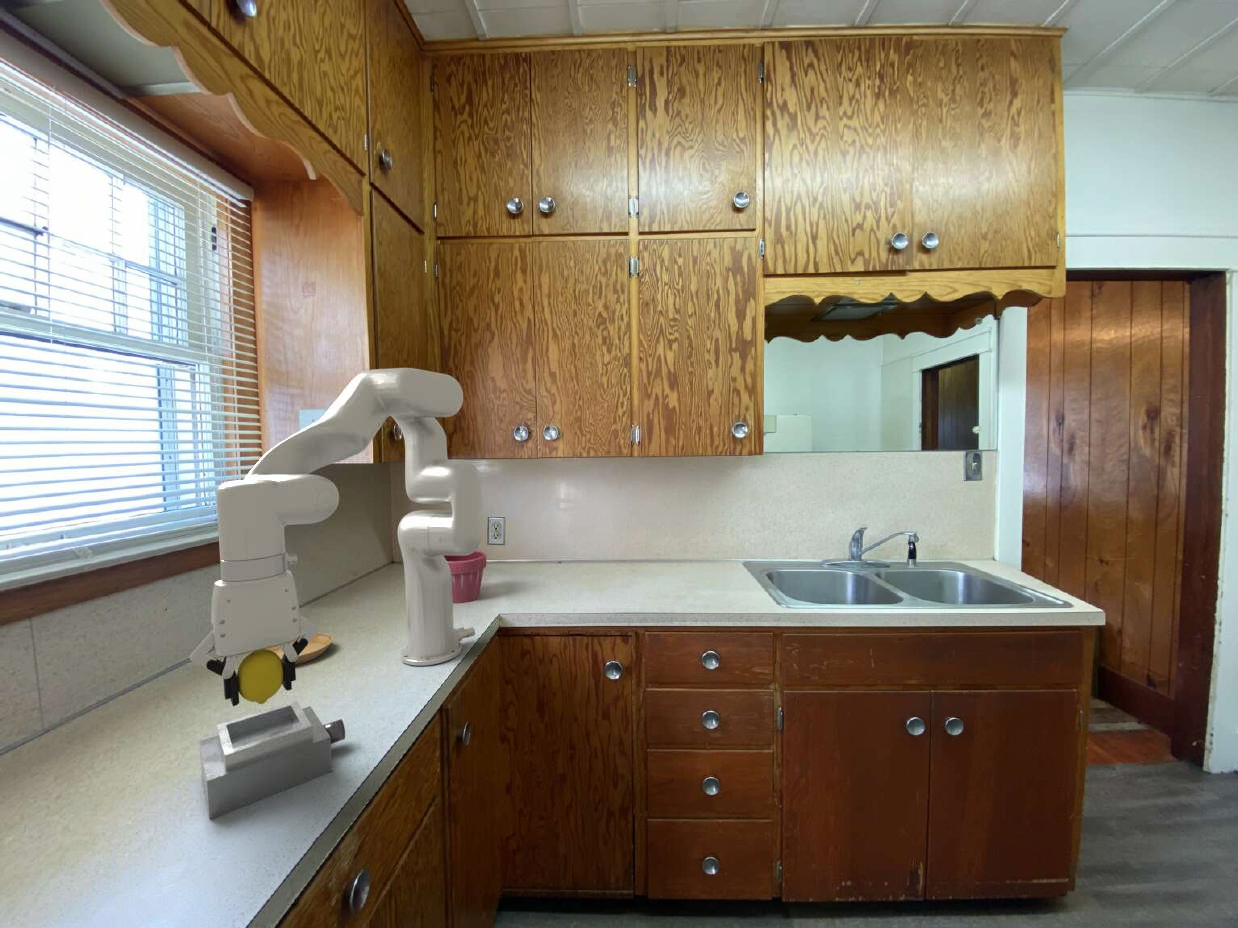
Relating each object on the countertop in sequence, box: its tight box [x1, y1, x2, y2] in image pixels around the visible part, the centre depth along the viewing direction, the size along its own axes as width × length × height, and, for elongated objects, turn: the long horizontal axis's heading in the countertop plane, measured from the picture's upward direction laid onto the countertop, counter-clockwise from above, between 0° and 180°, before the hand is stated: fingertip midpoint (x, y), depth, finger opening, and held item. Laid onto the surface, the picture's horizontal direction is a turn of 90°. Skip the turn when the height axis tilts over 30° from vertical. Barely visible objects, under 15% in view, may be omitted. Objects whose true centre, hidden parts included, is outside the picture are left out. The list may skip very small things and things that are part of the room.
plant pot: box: [443, 550, 487, 604], centre depth 156 cm, size 14×14×13 cm
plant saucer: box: [264, 632, 334, 665], centre depth 118 cm, size 15×15×3 cm
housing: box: [198, 700, 346, 820], centre depth 77 cm, size 17×12×7 cm
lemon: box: [236, 649, 284, 705], centre depth 75 cm, size 6×6×8 cm
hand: (261, 693), depth 75 cm, fingers closed on lemon, 5 cm apart
